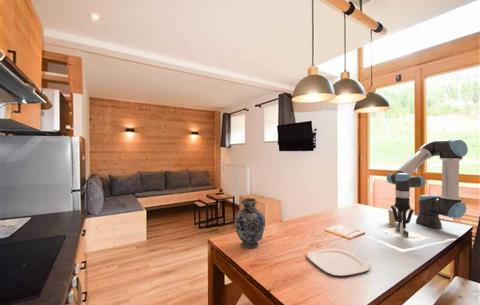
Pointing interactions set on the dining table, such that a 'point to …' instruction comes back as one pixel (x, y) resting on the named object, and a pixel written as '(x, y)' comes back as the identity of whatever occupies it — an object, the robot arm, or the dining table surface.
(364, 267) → the plate
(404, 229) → the dark grey lever
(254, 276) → the dining table surface
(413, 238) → the gauge board
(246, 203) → the decorative vase
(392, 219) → the coffee cup
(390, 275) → the dining table surface
